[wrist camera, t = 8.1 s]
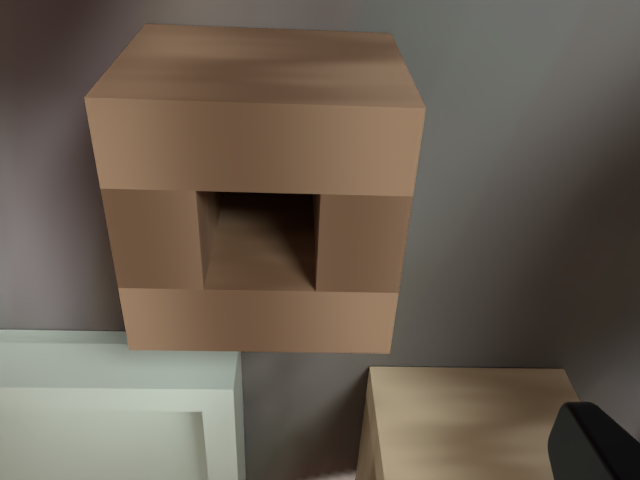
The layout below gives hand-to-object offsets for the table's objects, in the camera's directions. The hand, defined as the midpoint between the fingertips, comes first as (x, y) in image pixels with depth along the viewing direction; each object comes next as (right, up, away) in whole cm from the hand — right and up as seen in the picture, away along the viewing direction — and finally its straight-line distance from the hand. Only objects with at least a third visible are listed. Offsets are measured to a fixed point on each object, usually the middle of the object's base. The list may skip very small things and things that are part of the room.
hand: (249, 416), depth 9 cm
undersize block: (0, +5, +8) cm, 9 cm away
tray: (-8, -6, +15) cm, 18 cm away
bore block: (+6, -5, +15) cm, 17 cm away
